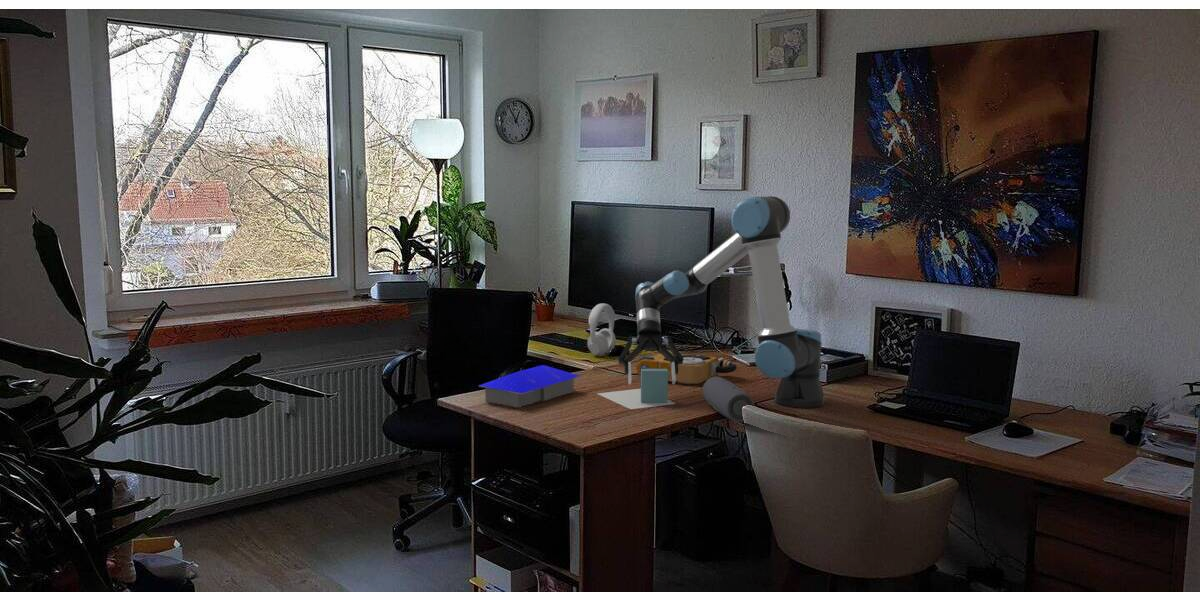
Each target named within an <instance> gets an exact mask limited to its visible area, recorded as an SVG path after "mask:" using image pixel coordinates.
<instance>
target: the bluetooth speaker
mask: <svg viewBox="0 0 1200 600" xmlns="http://www.w3.org/2000/svg"><path fill="white" fill-rule="evenodd" d="M701 391H702V397H703V398H704V399H705V401H706V402H707V403H708V404H709V405H710V406H711V407H712V408H713V409H714V410H716V412H718V414H720V415H721V416H722V417H725V419H726V420H727V421H731V422H732V421H733V422H737V423H740V422H741V423H742V422H744V421H743V417H742V407H743V406H746V405H752V406H755V403H754V400H753V398H752V397H751V396H750V394H748V393H747V392H745V390H743V389H742V388H740V387H739V386H737V385H736V384H734V383H733V382H731V381H729V380H727V379H725V378H723V377H719V376H715V377H712V378H709V379H708V380H705V381H704V384H703V385H702V390H701Z"/></svg>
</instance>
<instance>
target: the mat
mask: <svg viewBox="0 0 1200 600" xmlns="http://www.w3.org/2000/svg"><path fill="white" fill-rule="evenodd" d="M597 395H598V396H601V397H603V398H605V399H607V400H610V401H612V402H614V403H616V404H618V405H621V406H622V407H624V408H627V409H629V410H637V409H645V408H651V407H652V408H653V407H659V406H660V407H661V406H669V405H670V406H671V405H675V404H677V403H676V402H673V401H671V400H669V399H667V403H641V388H635V389H626V390H617V391H608V392H600V393H597Z"/></svg>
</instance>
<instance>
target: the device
mask: <svg viewBox="0 0 1200 600" xmlns="http://www.w3.org/2000/svg"><path fill="white" fill-rule="evenodd" d="M671 354H672V353H671ZM680 354H681V353H680ZM672 355H673V354H672ZM681 355H682V357H683V364H679V365H678V374H675V376H676V381H675V383H676V382H677V383H679V384H685V385H698V384H700V383H703V382H706V381H707V380H708V379H709V378H712V377H718V374H728V373H729V374H730V373H733V372H735V371H736V369H737V367H738V366H737V365H736V364H735V363H733V362H732V361H729V360H728V359H724V358H723V357H720V358H719V357H717V356H716V357H715V356H708V355H700V354H689V353H685V354H681ZM673 356H674V355H673ZM671 365H672V363H671V362H669V361H668V360H667V359H666V358H665V357H664V356H663V355H662V354H661V353H659V354H655V355H651V356H643V357H642V358H640V359H638V360H637V362H636V368H635V369H636V373H637V375H638V376H639V377H640V378H641V369H667V370H668V382H672V371H671Z"/></svg>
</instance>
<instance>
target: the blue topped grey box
mask: <svg viewBox="0 0 1200 600" xmlns="http://www.w3.org/2000/svg"><path fill="white" fill-rule="evenodd" d="M580 377H581V375H579V374H575V373H572V372H569V371H565V370H561V369H558V368H555V367H551V366H548V365H545V364H541V365H537V366H534V367H531V368H527V369H523V370H519V371H516V372H512V373H510V374H507V375H504V376H501V377H499V378H496V379H493V380H490V381H488V382H484V383H482V384H479V385H478V387H480V388H485V389H484V391H485V397H484V398H485V400H484V401H485V402H487V403H490V402H492V403H491V404H495V403H498V404H497V405H501V404H503V405H502V406H506V405H509V406H508V407H511V406H514V407H513V408H516V407H519V408H521V407H520V406H523V405H526V406H528V405H527V404H529V405H531V404H530V403H532V404H534V403H533V402H535V403H537V401H538V402H541V401H540V400H543V401H542V402H545V401H544V400H546V401H549V400H552V399H551V398H553V399H555V398H554V397H556V398H558V397H557V396H559V397H561V395H562V396H564V394H565V395H567V393H568V394H572V393H574V391H575V388H574V386H575V385H574V384H575V379H577V378H580ZM548 399H549V400H548ZM523 407H524V406H523Z"/></svg>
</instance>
